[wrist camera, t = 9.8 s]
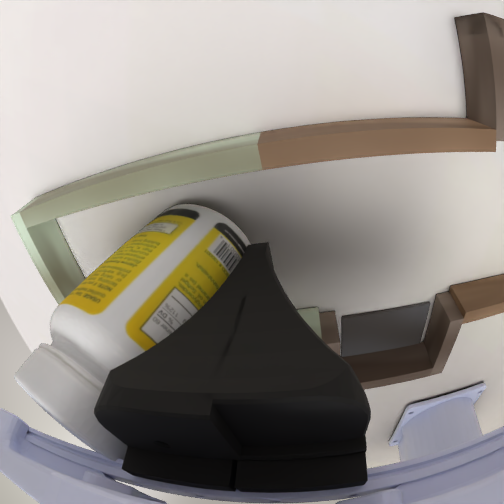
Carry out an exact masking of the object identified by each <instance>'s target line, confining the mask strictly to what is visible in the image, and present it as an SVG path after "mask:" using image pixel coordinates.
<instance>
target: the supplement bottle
mask: <svg viewBox="0 0 504 504" xmlns="http://www.w3.org/2000/svg"><path fill="white" fill-rule="evenodd" d="M248 245H251V244H250V242H249V240H248V239H247V237H246V236H245V234H244V233H243V232H242V231H241V229H240V228H239V227H238V226H237V225H236V224H234V223H233V222H232V221H231V220H230V219H228V218H227V217H225V216H224V215H222V214H221V213H219V212H217V211H214V210H212V209H210V208H207V207H204V206H200V205H195V204H181V205H176V206H173V207H171V208H169V209H167V210H165V211H164V212H163V213H161V214H160V215H159V216H157V217H156V218H155V219H154V220H153V221H151V222H150V223H149V224H147V225H146V226H145V227H144V228H143V229H141V230H140V231H139V232H138V233H137V234H136V235H134V236H133V237H132V238H131V239H130V240H129V241H127V242H126V243H125V244H124V245H123V246H122V247H120V248H119V249H118V250H117V251H116V252H115V253H114V254H112V255H111V256H110V257H109V258H108V259H107V260H106V261H105V262H104V263H102V264H101V265H100V266H99V267H98V268H97V269H96V270H95V271H94V272H92V273H91V274H90V275H89V276H88V277H87V278H86V279H85V280H84V281H83V282H82V283H81V284H80V285H79V286H78V287H77V288H76V289H74V290H73V291H72V292H71V293H70V294H69V295H68V296H67V297H66V298H65V299H64V300H63V301H62V302H61V303H60V304H59V305H58V306H57V308H56V309H55V311H54V312H53V314H52V316H51V320H50V333H51V337H52V340H53V342H52V344H51V345H48V344H45V343H41V344H40V345H39V348H38V349H35V350H34V352H33V353H32V354H31V355H30V357H29V358H28V359H27V360H26V361H25V362H24V364H23V365H22V366H21V367H20V369H19V370H18V371H17V372H16V374H15V376H14V378H15V380H16V381H17V382H18V384H19V385H20V386H21V387H22V388H23V389H24V390H25V391H26V393H28V395H29V396H31V398H32V399H34V401H35V402H36V403H37V404H38V405H39V406H41V407H42V408H43V409H44V410H45V411H46V412H47V413H48V414H49V415H50V416H52V417H53V418H54V419H55V420H56V421H57V422H58V423H59V424H61V425H62V426H63V427H64V428H65V429H67V430H68V431H69V432H70V433H72V434H73V435H74V436H76V437H77V438H78V439H80V440H81V441H82V442H83V443H85V444H86V445H87V446H89V447H90V448H92V449H93V450H94V451H96V452H98V453H101V454H102V455H104V456H105V457H107V458H109V459H110V460H112V461H116V460H117V459H123V460H124V458H125V454H126V451H127V448H128V446H127V445H126V444H124V443H123V442H122V441H120V440H119V439H118V438H117V437H115V436H114V435H113V434H112V433H110V432H109V431H108V430H107V429H105V428H104V427H103V426H102V425H101V424H100V423H99V422H98V420H97V418H96V417H95V415H94V408H95V405H96V403H97V400H98V398H99V396H100V393H101V391H102V388H103V386H104V384H105V381H106V379H107V377H108V374H109V372H110V370H112V369H114V368H116V367H118V366H120V365H122V364H124V363H125V362H127V361H129V360H131V359H133V358H135V357H136V356H138V355H140V354H142V353H143V352H145V351H147V350H148V349H150V348H151V347H153V346H154V345H156V344H157V343H159V342H160V341H162V340H163V339H164V338H166V337H167V336H169V335H170V334H171V333H173V332H174V331H175V330H176V329H177V328H179V327H180V326H181V325H182V324H184V323H185V322H186V321H187V320H188V319H190V318H191V317H192V316H193V315H194V314H195V313H196V312H197V311H198V310H199V309H200V308H201V307H202V306H204V305H205V304H206V302H207V301H208V300H209V299H210V298H211V297H212V296H213V295H214V294H215V292H216V291H217V290H218V289H219V288H220V286H221V285H222V284H223V283H224V282H225V280H226V279H227V278H228V276H229V275H230V274H231V272H232V271H233V270H234V268H235V267H236V265H237V264H238V263H239V261H240V260H241V258H242V257H243V254H244V252H245V250H246V248H247V246H248Z"/></svg>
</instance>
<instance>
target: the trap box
mask: <svg viewBox="0 0 504 504" xmlns="http://www.w3.org/2000/svg"><path fill="white" fill-rule="evenodd" d="M455 22H456V27H457V32H458V37H459V43H460V49H461V56H462V63H463V71H464V80H465V91H466V107H467V118H438V117H416V118H384V119H367V120H353V121H341V122H331V123H322V124H313V125H305V126H298V127H291V128H284V129H277V130H271V131H265V132H259V133H253V134H248V135H242V136H237V137H232V138H227V139H222V140H218V141H213V142H209V143H204V144H200V145H195V146H191V147H187V148H183V149H179V150H175V151H171V152H168V153H164V154H160V155H156V156H153V157H149V158H146V159H142V160H139V161H136V162H132V163H129V164H126V165H123V166H119V167H116V168H113V169H110V170H107V171H104V172H101V173H98V174H95V175H92V176H90V177H87V178H84V179H81V180H78V181H76V182H73V183H70V184H68V185H65V186H63V187H60V188H57V189H55V190H52V191H50V192H48V193H45V194H43V195H40V196H38V197H36V198H34V199H33V200H31V201H30V202H29V203H27V204H26V205H25V206H23V207H22V208H21V209H19V210H18V211H17V212H15V213H14V214H13V215H12V216H11V218H12V220H13V223H14V225H15V227H16V229H17V231H18V233H19V235H20V237H21V239H22V241H23V243H24V245H25V247H26V249H27V251H28V253H29V255H30V257H31V259H32V261H33V262H34V264H35V266H36V268H37V270H38V271H39V273H40V275H41V277H42V278H43V280H44V282H45V284H46V285H47V287H48V289H49V290H50V292H51V293H52V295H53V297H54V298H55V300H56V301H57V303H58V304H60V303H61V302H62V301H63V300H64V299H65V298H66V297H67V296H68V295H69V294H70V293H71V292H72V291H73V290H74V289H76V288H77V287H78V286H79V285H80V284H81V283H82V282H83V281H84V280H85V277H84V276H83V274H82V272H81V270H80V268H79V266H78V264H77V263H76V261H75V259H74V257H73V255H72V253H71V251H70V249H69V247H68V245H67V243H66V241H65V239H64V237H63V234H62V232H61V230H60V228H59V226H58V224H57V221H56V218H59V217H62V216H65V215H69V214H72V213H75V212H79V211H82V210H86V209H89V208H93V207H96V206H100V205H103V204H107V203H111V202H115V201H118V200H122V199H126V198H130V197H134V196H138V195H142V194H146V193H150V192H155V191H159V190H163V189H168V188H172V187H176V186H181V185H186V184H190V183H195V182H200V181H205V180H210V179H215V178H220V177H226V176H231V175H237V174H242V173H248V172H254V171H260V170H266V169H273V168H279V167H286V166H293V165H300V164H308V163H316V162H324V161H332V160H341V159H351V158H361V157H372V156H384V155H398V154H414V153H436V152H496V141H504V19H502V18H499V17H496V16H493V15H490V14H487V13H477V14H471V15H465V16H460V17H455ZM429 307H430V302H426V303H421V304H416V305H410V306H405V307H399V308H393V309H387V310H381V311H375V312H369V313H362V314H356V315H349V316H342V352H341V355H342V356H341V358H343V359H344V360H345V361H346V362H347V363H349V364H350V365H351V367H352V369H353V370H354V372H355V374H356V376H357V378H358V379H359V381H360V383H361V385H362V387H363V390H364V389H370V388H375V387H381V386H386V385H391V384H396V383H401V382H406V381H410V380H415V379H419V378H423V377H427V376H431V375H435V374H439V373H442V371H443V368H444V366H445V364H446V362H447V360H448V357H449V355H450V353H451V350H452V348H453V346H454V343H455V341H456V338H457V336H458V333H459V330H460V328H461V325H462V324H464V323H468V322H472V321H476V320H479V319H483V318H486V317H490V316H493V315H496V314H500V313H503V312H504V274H502V275H498V276H493V277H489V278H485V279H480V280H476V281H471V282H466V283H462V284H457V285H452V286H450V290H449V292H445V293H440V294H436V298H435V302H434V306H433V310H432V314H431V318H430V322H429V325H428V329H427V332H426V336H425V339H424V342H421V343H420V341H421V337H422V334H423V330H424V327H425V323H426V319H427V315H428V311H429ZM297 311H298V313H299V314H300V315H301V317H302V318H303V319H304V320H305V322H306V323H307V324H308V325H309V326H310V327H311V328H312V329H313V331H314V332H315V333H316V334H317V335H318V336H319V337H320V338H321V339H322V340H323V341H324V342H325V343H326V344H327V345H328V346H329V347H330V348H331V349H332V350H333V351H334V352H336V353H337V354H338V355H339V356H340V338H339V332H338V326H337V320H336V315H335V311H331V312H323V313H319V310H318V307H315V308H307V309H298V310H297Z"/></svg>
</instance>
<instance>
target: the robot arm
mask: <svg viewBox="0 0 504 504" xmlns="http://www.w3.org/2000/svg"><path fill="white" fill-rule="evenodd" d="M485 388H486V384H485V383H481V384H478V385H475V386H472V387H470V388H467V389H464V390H461V391H457V392H454V393H451V394H448V395H444V396H441V397H437V398H434V399H430V400H426V401H422V402H418V403H414V404H411V405H409V406H407V407H406V409H405V411H404V413H403V416H402V418H401V420H400V422H399V424H398V426H397V428H396V430H395V432H394V434H393V435H392V437H391V439H390V441H389V446H395V445H398V449H399V455H400V462H398V463H394V464H389V465H384V466H379V467H374V468H368V469H367V465H366V454H365V452H366V450H367V446H366V437H365V433H366V430H367V427H368V424H369V421H370V418H371V411H370V406H369V403H368V400H367V397H366V394H365V392H364V390H363V387H362V385H361V383H360V381H359V379H358V378H357V376H356V374H355V372H354V370H353V369H352V367H351V365H350V364H349V363H347V362H346V361H345V360H344V359H343V358H341V357H340V356H339V355H338V354H337V353H336V352H334V351H333V350H332V349H331V348H330V347H329V346H328V345H327V344H326V343H325V342H324V341H323V340H322V339H321V338H320V337H319V336H318V335H317V334H316V333H315V332H314V331H313V329H312V328H311V327H310V326H309V325H308V324H307V323H306V322H305V320H304V319H303V318H302V317H301V315H300V314H299V313H298V311H297V310H296V309H295V307H294V306H293V304H292V303H291V301H290V300H289V298H288V297H287V295H286V293H285V292H284V290H283V288H282V286H281V284H280V282H279V280H278V278H277V276H276V274H275V271H274V268H273V263H272V258H271V253H270V248H269V242H266V243H258V244H251V245H248V246H247V248H246V250H245V252H244V254H243V257H242V258H241V260H240V261H239V263H238V264H237V265H236V267H235V268H234V270H233V271H232V272H231V274H230V275H229V276H228V278H227V279H226V280H225V282H224V283H223V284H222V285H221V286H220V288H219V289H218V290H217V291H216V292H215V294H214V295H213V296H212V297H211V298H210V299H209V300H208V301H207V302H206V304H205V305H204V306H202V307H201V308H200V309H199V310H198V311H197V312H196V313H195V314H194V315H193V316H192V317H191V318H190V319H188V320H187V321H186V322H185V323H184V324H182V325H181V326H180V327H179V328H177V329H176V330H175V331H174V332H173V333H171V334H170V335H169V336H167V337H166V338H164V339H163V340H162V341H160V342H159V343H157V344H156V345H154V346H153V347H151V348H150V349H148V350H147V351H145V352H143V353H142V354H140V355H138V356H136V357H135V358H133V359H131V360H129V361H127V362H125V363H124V364H122V365H120V366H118V367H116V368H114V369H112V370H110V372H109V374H108V377H107V379H106V381H105V384H104V386H103V388H102V391H101V393H100V396H99V398H98V400H97V403H96V405H95V408H94V415H95V417H96V418H97V420H98V422H99V423H100V424H101V425H102V426H103V427H104V428H105V429H107V430H108V431H109V432H110V433H112V434H113V435H114V436H115V437H117V438H118V439H119V440H120V441H122V442H123V443H124V444H126V445H127V446H128V448H127V451H126V454H125V458H124V460H123V459H117V460H116V461H112V460H110V459H109V458H107V457H105V456H104V455H102V454H101V453H98V452H94V451H91V450H88V449H84V448H82V447H79V446H76V445H73V444H70V443H68V442H65V441H62V440H60V439H57V438H54V437H52V436H49V435H47V434H44V433H42V432H40V431H37V430H35V429H33V428H31V427H29V426H28V425H27V424H26V423H25V422H24V421H22V420H21V419H20V418H19V417H17V416H16V415H14V414H13V413H10V412H8V411H6V410H5V409H3V408H0V471H1V472H2V473H3V474H4V475H5V476H6V477H7V478H8V479H10V480H11V481H12V482H13V483H14V484H16V485H17V486H18V487H19V488H20V489H22V490H23V491H24V492H25V493H27V494H28V495H29V496H31V497H32V498H33V499H35V500H36V501H37V502H39V503H40V504H167V503H166V502H165V501H162V500H159V499H156V498H153V497H151V496H148V495H146V494H144V493H142V492H139V491H138V490H136V489H135V488H133V487H131V486H128V485H125V484H122V483H119V482H116V481H115V480H118V481H121V482H125V483H128V484H132V485H136V486H140V487H144V488H148V489H152V490H157V491H161V492H166V493H171V494H177V495H182V496H189V497H195V498H202V499H210V500H219V501H231V502H246V503H301V502H302V503H303V502H318V501H329V500H337V499H346V498H353V497H357V498H353V499H348V500H343V501H339V502H337V503H336V504H504V426H503V427H501V428H498V429H496V430H494V431H492V432H490V433H487V434H485V435H482V431H481V428H480V424H479V421H478V418H477V415H476V412H475V408H474V403H475V402H476V401H477V399H478V398H479V397H480V395H481V394H482V392H483V391H484V389H485ZM114 479H115V480H114ZM360 496H361V497H360Z"/></svg>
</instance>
